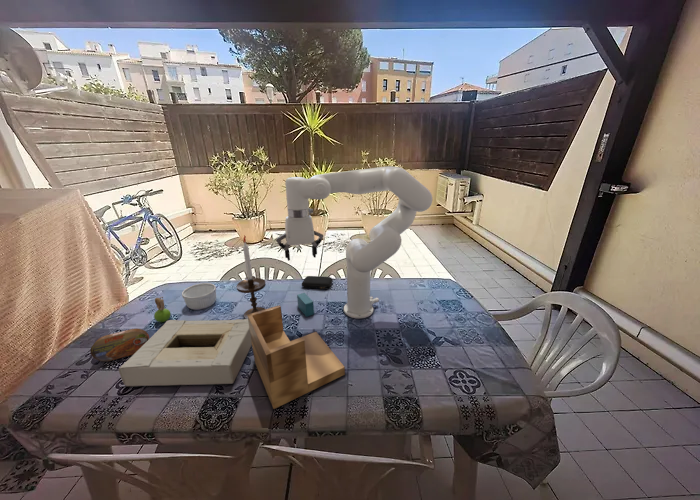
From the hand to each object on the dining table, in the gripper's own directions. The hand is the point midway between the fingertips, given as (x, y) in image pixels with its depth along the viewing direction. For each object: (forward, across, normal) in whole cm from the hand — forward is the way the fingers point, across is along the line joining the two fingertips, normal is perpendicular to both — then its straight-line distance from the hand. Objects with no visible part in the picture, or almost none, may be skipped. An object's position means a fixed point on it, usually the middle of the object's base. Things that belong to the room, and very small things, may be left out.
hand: (301, 257), depth 102 cm
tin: (+27, +61, +2) cm, 67 cm away
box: (+26, +37, +12) cm, 47 cm away
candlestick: (+26, +19, -8) cm, 34 cm away
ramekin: (+26, +42, -25) cm, 56 cm away
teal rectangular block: (+26, -1, -4) cm, 27 cm away
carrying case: (+26, -10, -25) cm, 38 cm away
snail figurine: (+26, +54, -15) cm, 62 cm away
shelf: (+26, +7, +27) cm, 38 cm away
